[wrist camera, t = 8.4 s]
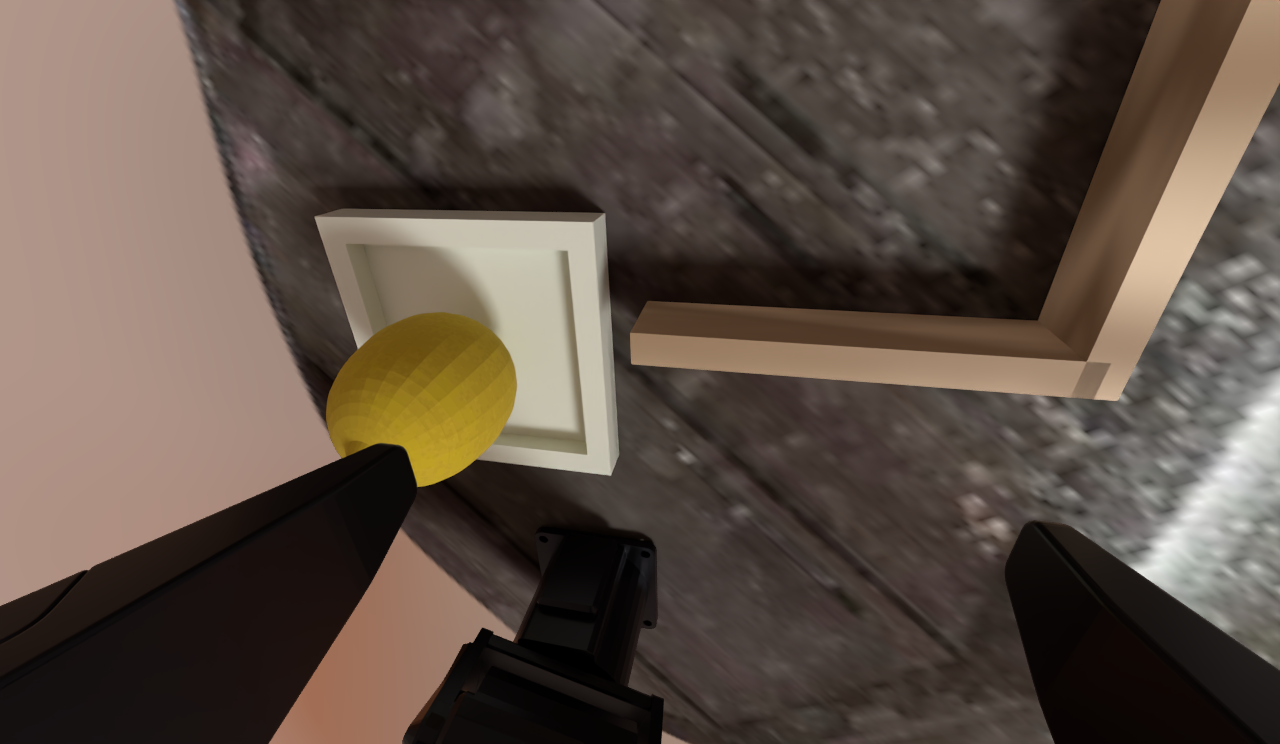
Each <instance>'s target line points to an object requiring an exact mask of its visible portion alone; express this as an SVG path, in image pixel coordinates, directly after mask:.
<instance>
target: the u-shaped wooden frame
mask: <svg viewBox="0 0 1280 744" xmlns="http://www.w3.org/2000/svg"><path fill="white" fill-rule="evenodd" d="M1279 83H1280V0H1161V1H1160V4H1159V7H1158V9H1157V12H1156V14H1155V17H1154V20H1153V22H1152V25H1151V27H1150V30H1149V33H1148V35H1147V38H1146V40H1145V43H1144V46H1143V48H1142V51H1141V53H1140V56H1139V59H1138V61H1137V64H1136V66H1135V69H1134V72H1133V74H1132V77H1131V79H1130V82H1129V85H1128V87H1127V90H1126V92H1125V95H1124V98H1123V100H1122V103H1121V105H1120V108H1119V111H1118V113H1117V116H1116V118H1115V121H1114V124H1113V126H1112V129H1111V131H1110V134H1109V137H1108V139H1107V142H1106V144H1105V147H1104V150H1103V152H1102V155H1101V157H1100V160H1099V163H1098V165H1097V168H1096V171H1095V173H1094V176H1093V178H1092V181H1091V184H1090V186H1089V189H1088V191H1087V194H1086V197H1085V199H1084V202H1083V204H1082V207H1081V210H1080V212H1079V215H1078V217H1077V220H1076V223H1075V225H1074V228H1073V230H1072V233H1071V236H1070V238H1069V241H1068V243H1067V246H1066V249H1065V251H1064V254H1063V256H1062V259H1061V262H1060V264H1059V267H1058V269H1057V272H1056V275H1055V277H1054V280H1053V282H1052V285H1051V288H1050V290H1049V293H1048V295H1047V298H1046V301H1045V303H1044V306H1043V308H1042V311H1041V314H1040V316H1039V319H1038V321H1035V320H1016V319H996V318H976V317H956V316H936V315H917V314H897V313H877V312H857V311H838V310H818V309H798V308H778V307H758V306H739V305H719V304H699V303H679V302H660V301H647V302H646V304H645V306H644V308H643V310H642V312H641V314H640V315H639V317H638V319H637V321H636V323H635V325H634V327H633V328H632V330H631V332H630V342H631V364H636V365H649V366H662V367H676V368H689V369H702V370H715V371H728V372H742V373H755V374H768V375H781V376H794V377H808V378H821V379H834V380H847V381H860V382H874V383H887V384H900V385H913V386H927V387H940V388H953V389H966V390H979V391H993V392H1006V393H1019V394H1032V395H1045V396H1059V397H1072V398H1085V399H1098V400H1111V401H1118V399H1119V397H1120V395H1121V393H1122V391H1123V389H1124V387H1125V385H1126V383H1127V381H1128V379H1129V377H1130V375H1131V373H1132V371H1133V370H1134V368H1135V366H1136V364H1137V362H1138V360H1139V358H1140V356H1141V354H1142V352H1143V350H1144V348H1145V346H1146V344H1147V342H1148V340H1149V338H1150V336H1151V334H1152V332H1153V330H1154V328H1155V326H1156V324H1157V322H1158V320H1159V318H1160V317H1161V315H1162V313H1163V311H1164V309H1165V307H1166V305H1167V303H1168V301H1169V299H1170V297H1171V295H1172V293H1173V291H1174V289H1175V287H1176V285H1177V283H1178V281H1179V279H1180V277H1181V275H1182V273H1183V271H1184V269H1185V267H1186V266H1187V264H1188V262H1189V260H1190V258H1191V256H1192V254H1193V252H1194V250H1195V248H1196V246H1197V244H1198V242H1199V240H1200V238H1201V236H1202V234H1203V232H1204V230H1205V228H1206V226H1207V224H1208V222H1209V220H1210V218H1211V216H1212V215H1213V213H1214V211H1215V209H1216V207H1217V205H1218V203H1219V201H1220V199H1221V197H1222V195H1223V193H1224V191H1225V189H1226V187H1227V185H1228V183H1229V181H1230V179H1231V177H1232V175H1233V173H1234V171H1235V169H1236V167H1237V165H1238V163H1239V162H1240V160H1241V158H1242V156H1243V154H1244V152H1245V150H1246V148H1247V146H1248V144H1249V142H1250V140H1251V138H1252V136H1253V134H1254V132H1255V130H1256V128H1257V126H1258V124H1259V122H1260V120H1261V118H1262V116H1263V114H1264V112H1265V111H1266V109H1267V107H1268V105H1269V103H1270V101H1271V99H1272V97H1273V95H1274V93H1275V91H1276V89H1277V87H1278V85H1279Z"/></svg>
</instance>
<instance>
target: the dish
mask: <svg viewBox="0 0 1280 744" xmlns="http://www.w3.org/2000/svg"><path fill="white" fill-rule="evenodd" d="M314 217H315V220H316V223H317V226H318V230H319V233H320V236H321V239H322V242H323V245H324V248H325V251H326V254H327V257H328V260H329V263H330V266H331V269H332V272H333V275H334V278H335V281H336V284H337V287H338V290H339V293H340V296H341V299H342V302H343V305H344V308H345V311H346V314H347V317H348V320H349V323H350V326H351V329H352V332H353V335H354V338H355V341H356V344H357V347H358V349H359V348H360V347H361V346H362V345H363V344H364V343H365V342H366V341H367V340H368V339H370V338H371V337H372V336H373V335H374V334H376V333H377V332H378V331H380V330H382V329H383V328H385V327H387V326H389V325H391V324H393V323H396V322H398V321H400V320H403V319H405V318H408V317H411V316H414V315H418V314H423V313H435V312H446V313H452V314H458V315H463V316H466V317H469V318H471V319H473V320H476V321H478V322H480V323H481V324H483V325H484V326H486V327H487V328H489V329H490V330H491V331H493V332H494V333H495V335H496V336H497V337H498V338H499V339H500V340H501V341H502V342H503V344H504V345H505V347H506V348H507V350H508V351H509V353H510V355H511V358H512V361H513V363H514V366H515V371H516V380H517V391H516V397H515V403H514V407H513V410H512V413H511V415H510V417H509V419H508V421H507V423H506V424H505V426H504V428H503V430H502V432H501V433H500V435H499V436H498V438H497V439H496V441H495V442H494V443H493V444H492V445H491V446H490V447H489V448H488V449H487V450H486V451H485V452H484V453H483V454H482V455H480V456H479V457H478V458H477V459H478V460H486V461H494V462H503V463H511V464H519V465H528V466H536V467H544V468H553V469H561V470H569V471H578V472H586V473H594V474H602V475H611V474H612V472H613V469H614V466H615V464H616V461H617V459H618V456H619V444H618V427H617V410H616V393H615V376H614V359H613V342H612V325H611V308H610V291H609V274H608V257H607V240H606V223H605V213H582V212H521V211H460V210H400V209H339V210H335V211H332V212H328V213H325V214H321V215H318V216H314Z"/></svg>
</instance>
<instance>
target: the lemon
mask: <svg viewBox="0 0 1280 744" xmlns="http://www.w3.org/2000/svg"><path fill="white" fill-rule="evenodd" d="M516 391H517V380H516V371H515V366H514V363H513V361H512V358H511V355H510V353H509V351H508V350H507V348H506V347H505V345H504V344H503V342H502V341H501V340H500V339H499V338H498V337H497V336H496V335H495V333H494V332H493V331H491V330H490V329H489V328H487V327H486V326H484V325H483V324H481V323H480V322H478V321H476V320H473V319H471V318H469V317H466V316H463V315H458V314H452V313H446V312H435V313H423V314H418V315H414V316H411V317H408V318H405V319H403V320H400V321H398V322H396V323H393V324H391V325H389V326H387V327H385V328H383V329H382V330H380V331H378V332H377V333H376V334H374V335H373V336H372V337H371V338H370V339H368V340H367V341H366V342H365V343H364V344H363V345H362V346H361V347H360V348H359V349H358V350H357V351H356V352H355V353H354V354H353V355H352V356H351V357H350V358H349V359H348V360H347V362H346V363H345V364H344V365H343V367H342V368H341V370H340V371H339V373H338V375H337V377H336V379H335V381H334V383H333V385H332V388H331V390H330V392H329V395H328V400H327V409H326V421H327V426H328V430H329V435H330V438H331V441H332V443H333V445H334V447H335V449H336V451H337V452H338V454H339V455H340V456H341V458H344V457H346V456H348V455H351V454H353V453H355V452H358V451H360V450H362V449H365V448H367V447H369V446H371V445H374V444H377V443H388V444H396V445H401V446H403V447H404V448H405V449H406V450H407V453H408V456H409V459H410V462H411V465H412V468H413V472H414V475H415V478H416V481H417V487H421V486H427V485H431V484H435V483H437V482H439V481H442V480H444V479H447V478H449V477H451V476H453V475H455V474H457V473H458V472H460V471H462V470H463V469H464V468H466V467H467V466H469V465H470V464H471V463H472V462H474V461H475V460H476V459H477V458H478V457H479V456H480V455H482V454H483V453H484V452H485V451H486V450H487V449H488V448H489V447H490V446H491V445H492V444H493V443H494V442H495V441H496V439H497V438H498V436H499V435H500V433H501V432H502V430H503V428H504V426H505V424H506V423H507V421H508V419H509V417H510V415H511V413H512V410H513V407H514V403H515V397H516Z"/></svg>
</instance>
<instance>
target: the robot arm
mask: <svg viewBox="0 0 1280 744" xmlns="http://www.w3.org/2000/svg"><path fill="white" fill-rule="evenodd" d="M416 494H417V481H416V478H415V475H414V472H413V468H412V465H411V462H410V459H409V456H408V453H407V450H406V449H405V448H404V447H403V446H401V445H396V444H388V443H377V444H374V445H371V446H369V447H367V448H365V449H362V450H360V451H358V452H355V453H353V454H351V455H348V456H346V457H344V458H342V459H339V460H337V461H335V462H332V463H330V464H328V465H325V466H323V467H321V468H318V469H316V470H314V471H312V472H309V473H307V474H305V475H303V476H300V477H298V478H295V479H293V480H291V481H289V482H286V483H284V484H282V485H279V486H277V487H275V488H272V489H270V490H268V491H266V492H263V493H261V494H259V495H256V496H254V497H252V498H249V499H247V500H245V501H242V502H241V503H238V504H236V505H233V506H231V507H229V508H226V509H224V510H222V511H219V512H217V513H215V514H213V515H210V516H208V517H206V518H203V519H201V520H199V521H196V522H194V523H192V524H190V525H187V526H185V527H183V528H180V529H178V530H176V531H173V532H171V533H169V534H166V535H164V536H162V537H160V538H157V539H155V540H153V541H150V542H148V543H146V544H144V545H141V546H139V547H137V548H134V549H132V550H130V551H127V552H125V553H123V554H120V555H118V556H116V557H114V558H111V559H109V560H107V561H104V562H102V563H100V564H97V565H95V566H94V567H92V568H91V569H90V570H84V571H81V572H79V573H76V574H74V575H72V576H69V577H67V578H65V579H63V580H60V581H58V582H56V583H53V584H51V585H49V586H47V587H44V588H42V589H40V590H38V591H35V592H32V593H30V594H28V595H25V596H23V597H21V598H18V599H16V600H13V601H11V602H9V603H6V604H4V605H2V606H0V744H269V742H270V741H271V739H272V737H273V736H274V734H275V733H276V731H277V729H278V728H279V726H280V725H281V723H282V722H283V720H284V719H285V717H286V716H287V714H288V713H289V711H290V709H291V708H292V706H293V705H294V703H295V702H296V700H297V698H298V697H299V695H300V694H301V692H302V691H303V689H304V687H305V686H306V684H307V683H308V681H309V680H310V678H311V677H312V675H313V673H314V672H315V670H316V669H317V667H318V666H319V664H320V663H321V661H322V659H323V658H324V656H325V655H326V653H327V652H328V650H329V648H330V647H331V645H332V644H333V642H334V641H335V639H336V637H337V636H338V634H339V633H340V631H341V630H342V628H343V627H344V625H345V624H346V622H347V620H348V619H349V617H350V616H351V614H352V613H353V611H354V609H355V608H356V606H357V605H358V603H359V601H360V600H361V599H362V597H363V595H364V594H365V592H366V590H367V589H368V587H369V585H370V584H371V582H372V580H373V578H374V577H375V575H376V573H377V571H378V569H379V567H380V566H381V563H382V562H383V560H384V558H385V556H386V554H387V552H388V550H389V548H390V546H391V544H392V542H393V540H394V538H395V536H396V535H397V533H398V531H399V529H400V527H401V525H402V523H403V521H404V519H405V517H406V515H407V513H408V511H409V509H410V507H411V506H412V504H413V502H414V500H415V497H416ZM535 543H536V548H537V554H538V559H539V565H540V571H541V576H542V579H541V581H540V583H539V585H538V588H537V590H536V592H535V594H534V596H533V599H532V601H531V603H530V605H529V608H528V610H527V612H526V614H525V616H524V619H523V621H522V623H521V625H520V628H519V630H518V632H517V634H516V636H515V639H514V641H513V642H512V641H509V640H507V639H504V638H502V637H499V636H497V635H494V634H493V631H490V630H488V629H485V628H482V629H481V630H480V632H479V634H478V635H477V637H476V639H475V641H474V642H473V643H471V642H469V643H468V644H463V646H462V648H461V650H460V651H459V653H458V655H457V657H456V659H455V661H454V663H453V664H452V667H451V668H450V670H449V672H448V674H447V675H446V677H445V678H444V680H443V682H442V683H441V684H440V686H439V687H438V688H437V690H436V691H435V692H434V694H433V695H432V696H431V698H430V699H429V701H428V702H427V703H426V704H425V706H424V707H423V708H422V710H421V711H420V712H419V714H418V715H417V717H416V718H415V719H414V720H413V722H412V723H411V724H410V726H409V727H408V729H407V731H406V733H405V735H404V738H403V740H402V744H661V738H662V722H663V705H664V699H663V698H661V697H658V696H656V695H653V694H652V695H651V696H649V695H647V694H644V693H642V692H639V691H636V690H634V689H631V688H629V687H628V683H629V678H630V674H631V670H632V665H633V661H634V656H635V652H636V647H637V643H638V638H639V634H640V629H641V628H646V629H653V628H655V627H656V624H657V619H658V610H657V550H656V547H655V546H654V544H652V543H650V542H647V541H640V540H633V539H626V538H619V537H612V536H605V535H598V534H591V533H584V532H577V531H570V530H564V529H557V528H550V527H540V528H539V529H538V530H537V532H536V534H535ZM646 551H647V552H646ZM1005 581H1006V585H1007V589H1008V592H1009V596H1010V600H1011V603H1012V607H1013V611H1014V614H1015V618H1016V622H1017V625H1018V629H1019V633H1020V636H1021V640H1022V643H1023V647H1024V651H1025V654H1026V658H1027V662H1028V665H1029V669H1030V673H1031V676H1032V680H1033V683H1034V687H1035V690H1036V693H1037V696H1038V700H1039V703H1040V706H1041V708H1042V711H1043V714H1044V717H1045V719H1046V722H1047V725H1048V728H1049V730H1050V733H1051V735H1052V738H1053V740H1054V743H1055V744H1280V670H1278V669H1277V668H1275V667H1274V666H1272V665H1271V664H1270V663H1268V662H1267V661H1265V660H1264V659H1262V658H1261V657H1259V656H1258V655H1257V654H1255V653H1254V652H1252V651H1251V650H1249V649H1248V648H1246V647H1245V646H1243V645H1242V644H1241V643H1239V642H1238V641H1236V640H1235V639H1233V638H1232V637H1230V636H1229V635H1228V634H1226V633H1225V632H1223V631H1222V630H1220V629H1219V628H1217V627H1216V626H1215V625H1213V624H1212V623H1210V622H1209V621H1207V620H1206V619H1204V618H1203V617H1201V616H1200V615H1199V614H1197V613H1196V612H1194V611H1193V610H1191V609H1190V608H1188V607H1187V606H1186V605H1184V604H1183V603H1181V602H1180V601H1178V600H1177V599H1175V598H1174V597H1172V596H1171V595H1170V594H1168V593H1167V592H1165V591H1164V590H1162V589H1161V588H1159V587H1158V586H1157V585H1155V584H1154V583H1152V582H1151V581H1149V580H1148V579H1146V578H1145V577H1144V576H1142V575H1141V574H1139V573H1138V572H1136V571H1135V570H1133V569H1132V568H1130V567H1129V566H1128V565H1126V564H1125V563H1123V562H1122V561H1120V560H1119V559H1117V558H1116V557H1115V556H1113V555H1112V554H1110V553H1109V552H1107V551H1106V550H1104V549H1103V548H1102V547H1100V546H1099V545H1097V544H1096V543H1094V542H1093V541H1091V540H1090V539H1088V538H1087V537H1086V536H1084V535H1083V534H1081V533H1080V532H1078V531H1077V530H1075V529H1074V528H1072V527H1071V526H1068V525H1066V524H1062V523H1054V522H1045V521H1037V520H1034V521H1029V522H1028V523H1026V524H1025V525H1024V527H1023V528H1022V530H1021V532H1020V534H1019V536H1018V538H1017V541H1016V543H1015V545H1014V547H1013V549H1012V551H1011V553H1010V556H1009V558H1008V560H1007V562H1006V566H1005Z"/></svg>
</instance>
